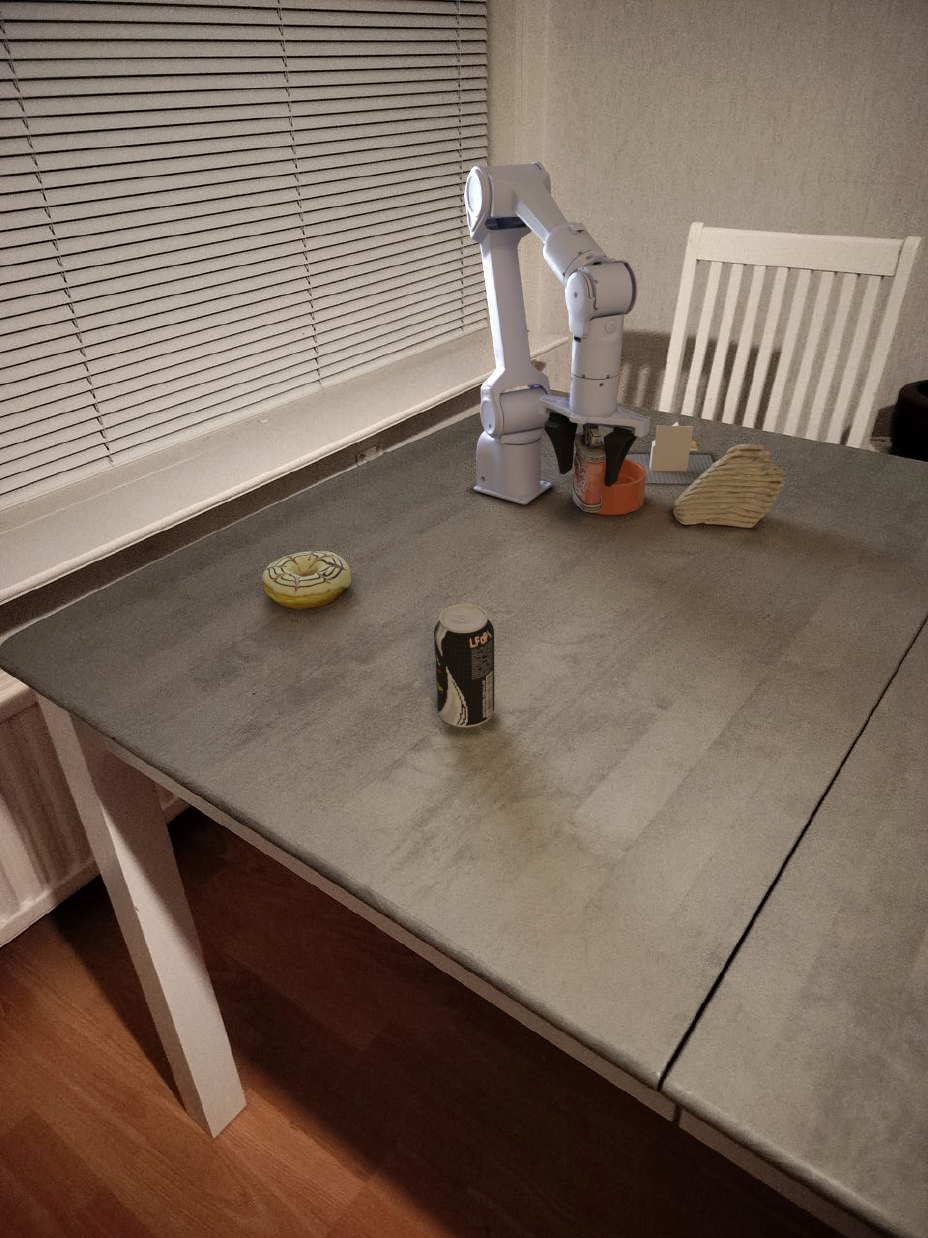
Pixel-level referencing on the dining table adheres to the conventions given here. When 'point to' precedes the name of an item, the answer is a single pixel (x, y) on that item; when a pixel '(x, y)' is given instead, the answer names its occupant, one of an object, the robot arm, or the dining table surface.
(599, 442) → the lighter
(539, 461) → the robot arm
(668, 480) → the architectural model
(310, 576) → the decorated donut
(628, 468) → the bowl
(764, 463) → the fossil tooth
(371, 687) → the dining table surface
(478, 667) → the beverage can
